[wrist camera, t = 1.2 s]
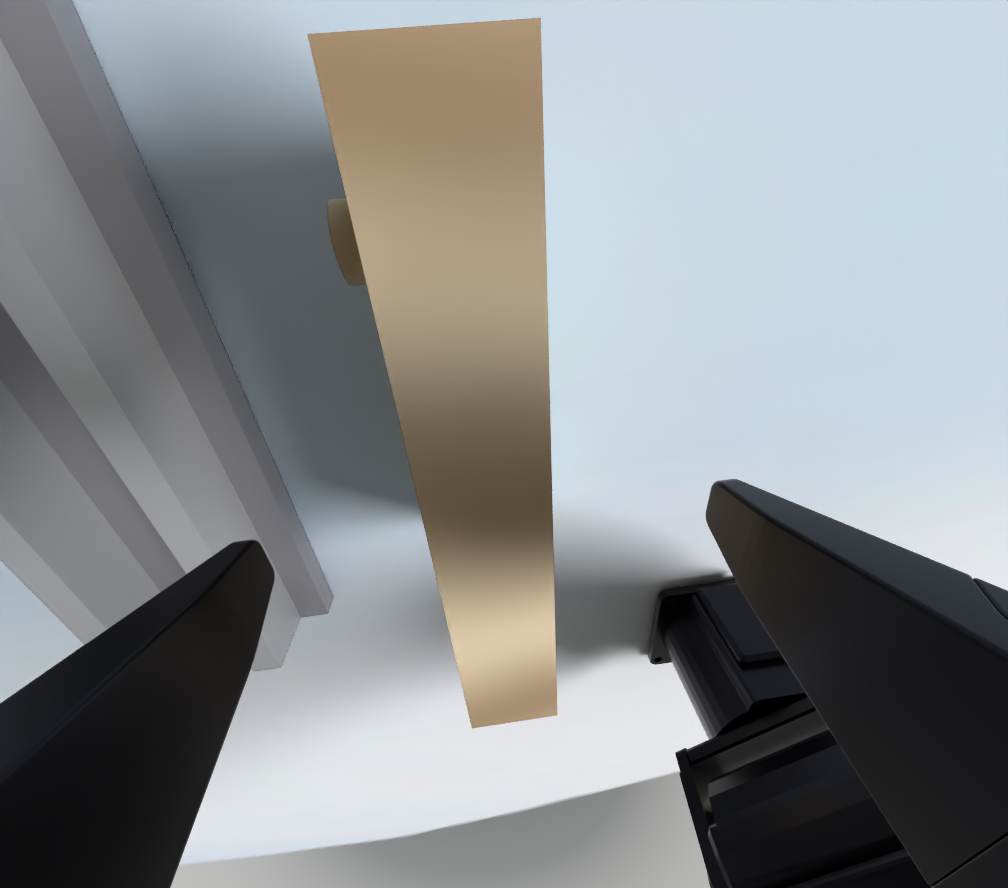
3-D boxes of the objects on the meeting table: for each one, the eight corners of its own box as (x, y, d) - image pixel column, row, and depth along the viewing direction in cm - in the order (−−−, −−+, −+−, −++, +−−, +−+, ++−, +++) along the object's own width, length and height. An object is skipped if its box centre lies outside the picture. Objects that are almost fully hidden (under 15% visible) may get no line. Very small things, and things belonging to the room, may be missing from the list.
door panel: (516, 510, 19) (557, 715, 11) (449, 518, 19) (443, 732, 11) (486, 145, 12) (540, 17, 4) (378, 154, 12) (226, 39, 4)
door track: (333, 596, 20) (311, 663, 17) (151, 621, 20) (96, 693, 17) (57, -32, 9) (-132, -149, 6) (-362, -7, 9) (-777, -118, 6)
